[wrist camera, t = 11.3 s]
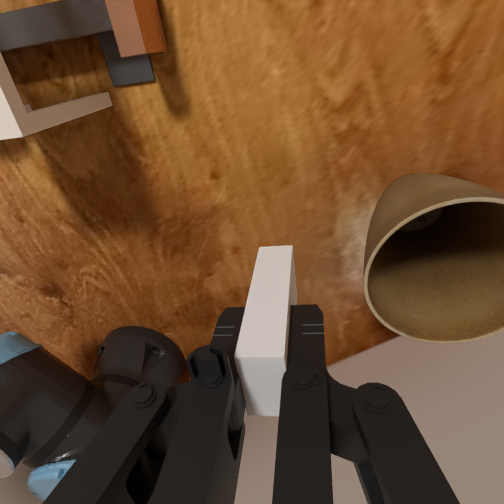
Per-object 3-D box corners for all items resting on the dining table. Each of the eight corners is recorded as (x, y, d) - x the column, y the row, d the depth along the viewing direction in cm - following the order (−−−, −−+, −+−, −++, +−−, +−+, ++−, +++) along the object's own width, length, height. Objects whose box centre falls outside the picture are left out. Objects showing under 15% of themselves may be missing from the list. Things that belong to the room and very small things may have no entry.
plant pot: (348, 148, 41) (368, 203, 27) (490, 136, 38) (592, 191, 25) (345, 258, 48) (360, 344, 35) (465, 255, 46) (531, 347, 32)
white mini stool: (160, 98, 41) (89, 128, 28) (24, 118, 44) (-97, 152, 31) (110, -102, 32) (-26, -198, 19) (-53, -59, 36) (-265, -116, 22)
